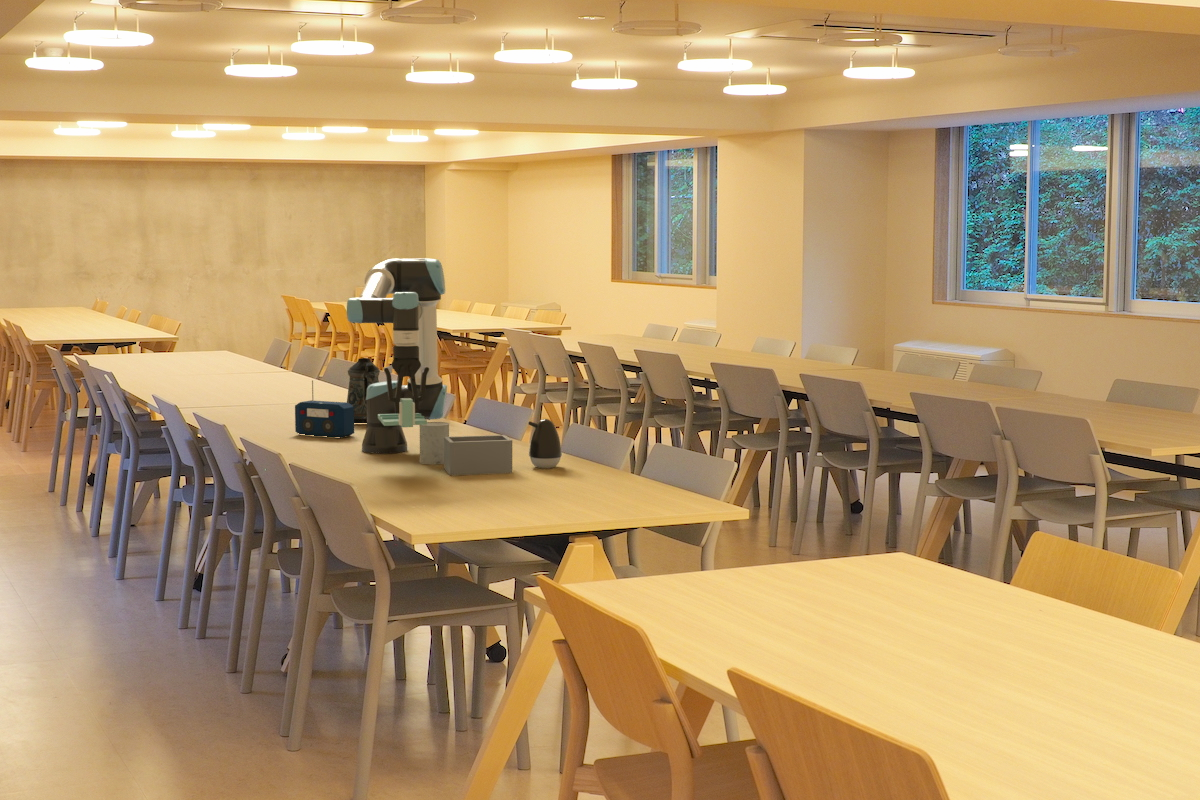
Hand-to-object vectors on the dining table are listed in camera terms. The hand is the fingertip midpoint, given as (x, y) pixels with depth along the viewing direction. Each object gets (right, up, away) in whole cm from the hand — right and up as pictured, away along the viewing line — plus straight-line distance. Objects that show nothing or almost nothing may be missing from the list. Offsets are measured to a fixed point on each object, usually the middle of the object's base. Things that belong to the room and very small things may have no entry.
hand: (406, 424), depth 378 cm
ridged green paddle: (-3, 0, +10) cm, 10 cm away
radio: (-43, -6, +88) cm, 98 cm away
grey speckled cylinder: (+4, -13, +32) cm, 35 cm away
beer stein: (-34, -2, +125) cm, 130 cm away
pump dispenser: (+40, -14, +23) cm, 48 cm away
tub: (+19, -14, +16) cm, 29 cm away
